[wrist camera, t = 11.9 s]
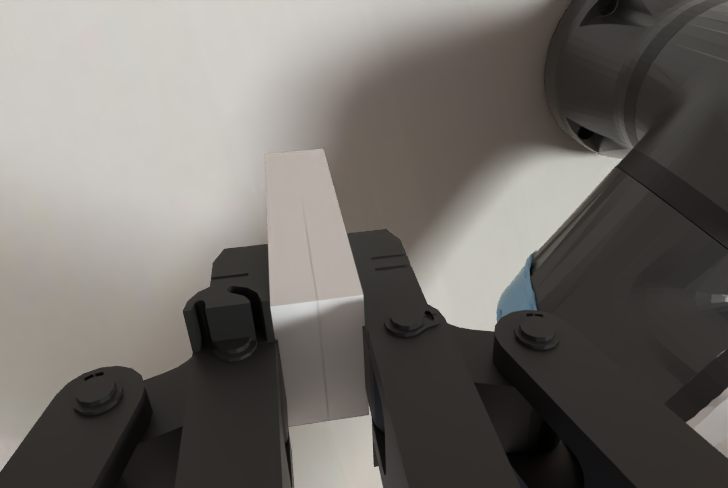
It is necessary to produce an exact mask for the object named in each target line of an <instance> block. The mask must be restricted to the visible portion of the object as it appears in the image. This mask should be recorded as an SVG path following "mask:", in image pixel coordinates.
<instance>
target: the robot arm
mask: <svg viewBox="0 0 728 488" xmlns="http://www.w3.org/2000/svg"><path fill="white" fill-rule="evenodd" d="M544 81H545V92H546V98H547V102H548V105H549V108H550V110H551V113H552V115H553V117H554V119H555V120H556V122H557V123H558V125H559V126H560V127H561V128H562V129H563V130H564V132H566V133H567V134H568V135H569V136H570V137H572V138H573V139H574V140H576V141H577V142H578V143H580V144H581V145H582V146H584V147H586V148H587V149H589V150H591V151H593V152H596V153H598V154H601V155H604V156H608V157H614V158H622V159H623V160H622V161H621V162H620V163H619V164H618V165H617V166H615V168H614V169H613V170H612V171H611V172H610V173H609V174H608V175H607V176H606V177H605V178H604V180H603V181H602V182H601V183H600V184H599V185H598V186H597V187H596V188H595V189H594V191H593V192H592V193H591V194H590V195H589V196H588V197H587V198H586V199H585V200H584V202H583V203H582V204H581V205H580V206H579V207H578V208H577V209H576V210H575V211H574V212H573V214H572V215H571V216H570V217H569V218H568V219H567V220H566V221H565V222H564V223H563V225H562V226H561V227H560V228H559V229H558V230H557V231H556V232H555V233H554V234H553V235H552V237H551V238H550V239H549V240H548V241H547V242H546V243H545V244H544V245H543V246H542V247H541V248H540V249H539V250H538V251H535V252H533V253H532V254H531V255H530V256H529V257H528V259H527V261H526V264H525V266H524V267H523V269H522V270H521V271H520V272H519V274H518V275H517V276H516V277H515V279H514V280H513V281H512V282H511V284H510V285H509V286H508V287H507V288H506V289H505V291H504V292H503V294H502V295H501V297H500V299H499V302H498V306H497V324H496V325H495V332H492V331H481V330H471V329H465V328H459V327H456V326H453V325H450V324H448V323H447V322H446V320H445V318H444V317H443V316H442V314H441V313H440V312H439V311H438V310H437V309H435V308H433V307H432V306H430V305H428V304H427V302H426V300H425V297H424V295H423V293H422V290H421V288H420V286H419V283H418V281H417V279H416V276H415V274H414V271H413V269H412V267H411V266H410V262H409V260H408V257H407V256H406V253H405V250H404V248H403V246H402V243H401V241H400V239H398V238H397V237H396V236H394V235H393V234H392V233H390V232H389V231H388V230H386V229H384V230H375V231H366V232H357V233H348V234H347V233H346V229H345V226H344V222H343V218H342V215H341V211H340V207H339V204H338V200H337V196H336V193H335V189H334V185H333V182H332V178H331V174H330V171H329V167H328V163H327V160H326V156H325V152H324V149H313V150H302V151H291V152H281V153H270V154H265V172H266V201H267V229H268V244H264V245H255V246H246V247H237V248H228V249H224V250H223V251H222V252H221V254H220V255H219V256H218V257H217V259H216V260H215V261H214V262H213V267H212V275H211V284H210V287H209V288H206V289H204V290H202V291H200V292H198V293H197V294H196V295H194V296H193V297H192V298H191V299H190V300H189V301H188V302H187V304H186V306H185V308H184V310H183V314H184V318H185V322H186V326H187V330H188V334H189V338H190V343H191V347H192V351H193V355H192V357H191V358H190V359H189V360H188V361H187V362H185V363H183V364H182V365H180V366H179V367H177V368H175V369H173V370H170V371H168V372H166V373H163V374H161V375H158V376H155V377H152V378H149V379H147V380H144V381H143V379H142V376H141V375H140V374H139V373H137V372H136V371H135V370H133V369H131V368H126V367H121V366H113V367H103V368H99V369H96V370H93V371H90V372H87V373H84V374H82V375H81V376H79V377H77V378H76V379H74V380H72V381H71V382H69V383H68V384H67V385H66V386H65V387H64V388H63V389H62V390H61V391H60V392H59V393H58V394H57V395H56V396H55V397H54V399H53V400H52V401H51V403H50V404H49V406H48V407H47V408H46V410H45V411H44V412H43V414H42V415H41V417H40V418H39V419H38V421H37V422H36V424H35V425H34V426H33V428H32V429H31V430H30V432H29V433H28V435H27V436H26V437H25V439H24V440H23V442H22V443H21V444H20V446H19V447H18V448H17V450H16V451H15V453H14V454H13V455H12V457H11V458H10V460H9V461H8V462H7V464H6V465H5V466H4V468H3V469H2V471H1V472H0V488H294V478H293V464H292V450H291V443H290V437H289V428H288V427H290V426H297V425H304V424H310V423H317V422H324V421H330V420H337V419H344V418H351V417H357V416H364V415H369V407H370V411H371V416H372V434H373V457H374V467H376V466H379V470H380V474H381V479H382V484H383V488H728V0H574V1H573V2H572V3H571V5H570V6H569V7H568V9H567V10H566V12H565V13H564V15H563V17H562V19H561V20H560V22H559V24H558V26H557V28H556V30H555V33H554V35H553V37H552V40H551V43H550V46H549V50H548V54H547V58H546V64H545V79H544ZM368 402H369V404H368Z"/></svg>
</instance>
